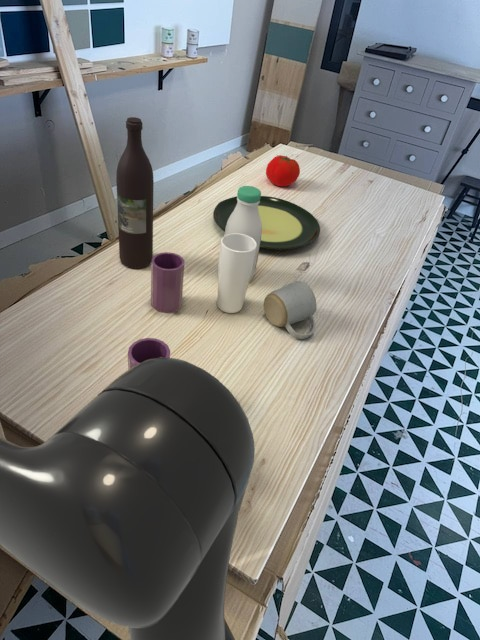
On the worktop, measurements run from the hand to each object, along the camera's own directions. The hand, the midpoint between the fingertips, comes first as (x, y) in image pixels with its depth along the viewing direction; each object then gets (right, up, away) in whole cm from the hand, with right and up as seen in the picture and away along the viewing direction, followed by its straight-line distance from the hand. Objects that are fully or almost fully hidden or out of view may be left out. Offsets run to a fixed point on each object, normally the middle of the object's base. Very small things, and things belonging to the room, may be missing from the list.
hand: (152, 399), depth 66 cm
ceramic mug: (+23, +11, +27) cm, 37 cm away
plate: (+19, +35, +55) cm, 69 cm away
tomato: (+25, +53, +78) cm, 98 cm away
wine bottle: (-10, +24, +36) cm, 45 cm away
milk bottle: (+12, +21, +37) cm, 45 cm away
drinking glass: (+10, +14, +28) cm, 33 cm away
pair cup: (-2, -1, +8) cm, 8 cm away
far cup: (-2, +15, +26) cm, 30 cm away
